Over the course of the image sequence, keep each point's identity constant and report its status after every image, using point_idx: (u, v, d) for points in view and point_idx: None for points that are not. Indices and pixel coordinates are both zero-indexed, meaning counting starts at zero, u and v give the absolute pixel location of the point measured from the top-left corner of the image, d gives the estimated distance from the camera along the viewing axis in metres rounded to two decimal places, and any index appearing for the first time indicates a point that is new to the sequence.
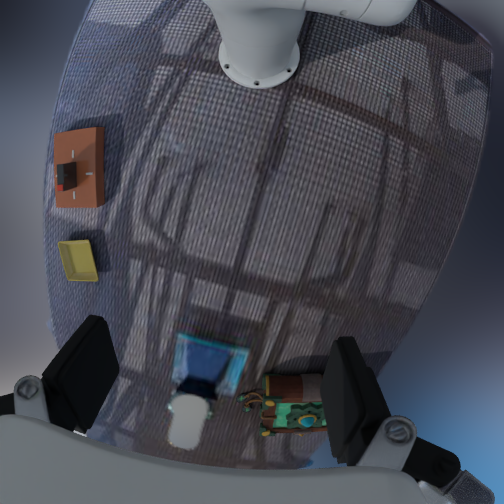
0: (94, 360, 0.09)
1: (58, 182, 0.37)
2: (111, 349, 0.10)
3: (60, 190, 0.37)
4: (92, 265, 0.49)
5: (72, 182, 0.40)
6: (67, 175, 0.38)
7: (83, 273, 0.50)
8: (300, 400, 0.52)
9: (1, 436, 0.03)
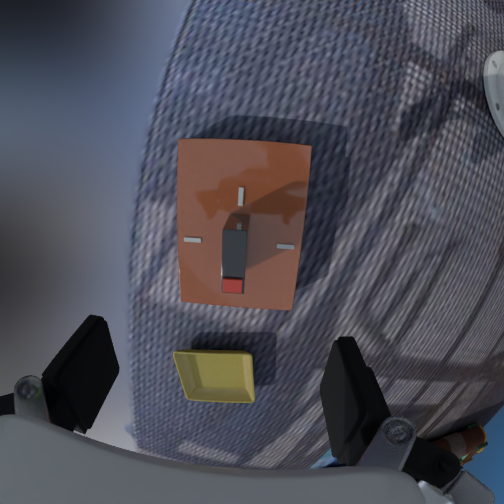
0: (94, 360, 0.09)
1: (224, 272, 0.19)
2: (111, 349, 0.10)
3: (232, 292, 0.19)
4: (240, 380, 0.31)
5: None
6: None
7: (218, 389, 0.32)
8: None
9: (1, 436, 0.03)
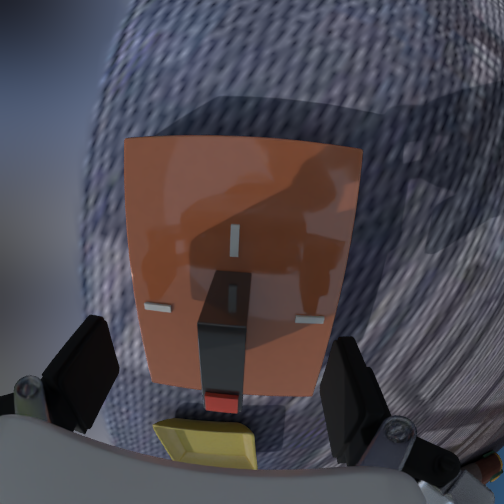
0: (94, 360, 0.09)
1: (207, 385, 0.10)
2: (111, 349, 0.10)
3: (223, 410, 0.10)
4: (239, 448, 0.22)
5: None
6: None
7: (212, 456, 0.23)
8: None
9: (1, 436, 0.03)
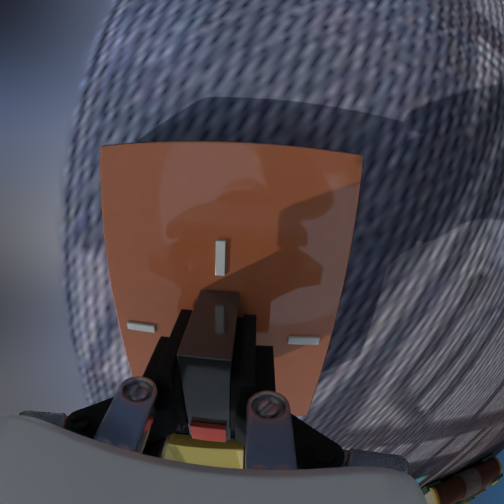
0: None
1: (192, 415, 0.08)
2: None
3: (210, 439, 0.09)
4: (233, 462, 0.21)
5: None
6: None
7: None
8: (460, 499, 0.23)
9: (1, 436, 0.03)
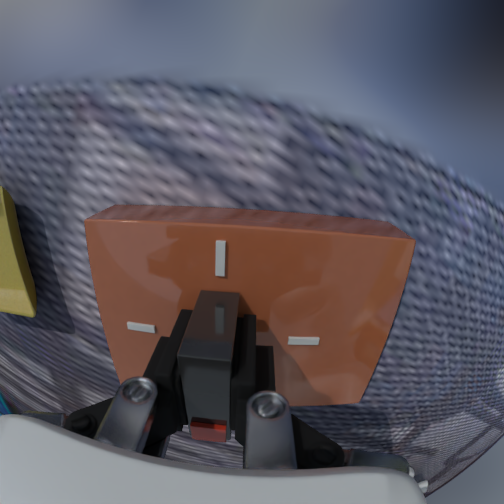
0: None
1: (192, 415, 0.09)
2: None
3: (210, 439, 0.09)
4: None
5: None
6: None
7: None
8: None
9: (1, 436, 0.03)
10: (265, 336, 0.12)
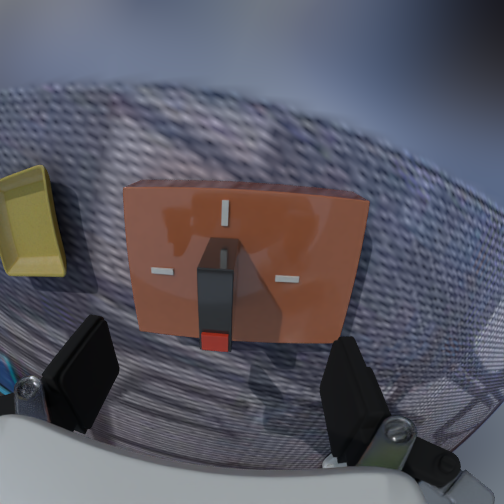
0: (94, 361, 0.09)
1: (203, 325, 0.13)
2: (111, 349, 0.10)
3: (216, 349, 0.13)
4: (26, 251, 0.19)
5: None
6: (234, 298, 0.14)
7: (7, 223, 0.18)
8: None
9: (1, 436, 0.03)
10: (258, 274, 0.16)
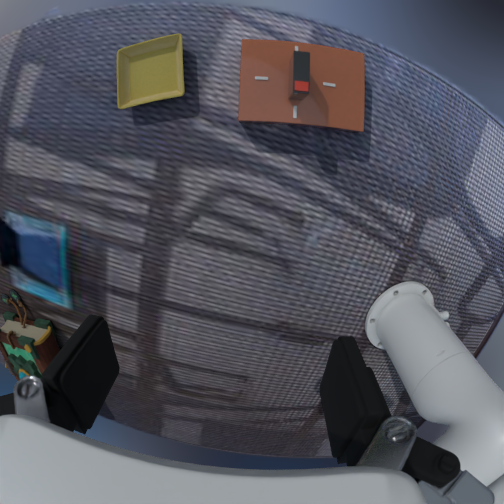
0: (94, 361, 0.09)
1: (295, 77, 0.22)
2: (111, 349, 0.10)
3: (302, 90, 0.23)
4: (141, 94, 0.28)
5: None
6: None
7: (128, 76, 0.27)
8: None
9: (1, 436, 0.03)
10: (314, 81, 0.26)
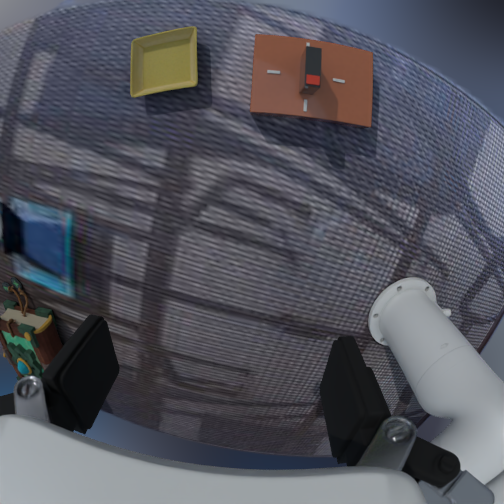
0: (94, 360, 0.09)
1: (307, 71, 0.23)
2: (111, 349, 0.10)
3: (313, 84, 0.23)
4: (154, 83, 0.29)
5: None
6: None
7: (141, 66, 0.28)
8: (42, 361, 0.38)
9: (1, 436, 0.03)
10: (324, 77, 0.26)
